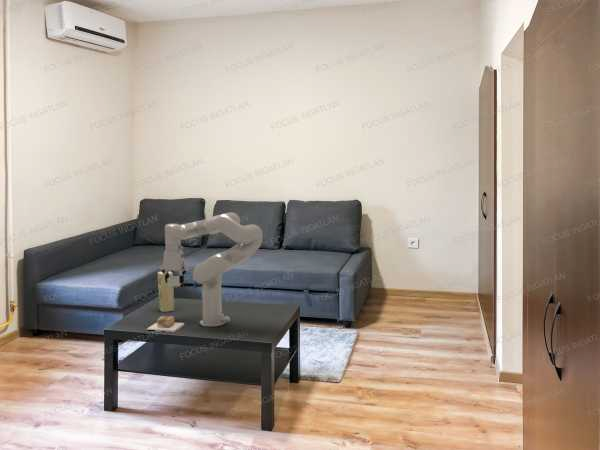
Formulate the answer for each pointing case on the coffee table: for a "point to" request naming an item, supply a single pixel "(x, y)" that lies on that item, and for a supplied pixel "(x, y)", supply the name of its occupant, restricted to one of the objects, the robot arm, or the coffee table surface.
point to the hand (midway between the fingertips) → (174, 282)
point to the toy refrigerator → (165, 293)
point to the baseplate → (171, 329)
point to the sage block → (173, 281)
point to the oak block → (165, 321)
